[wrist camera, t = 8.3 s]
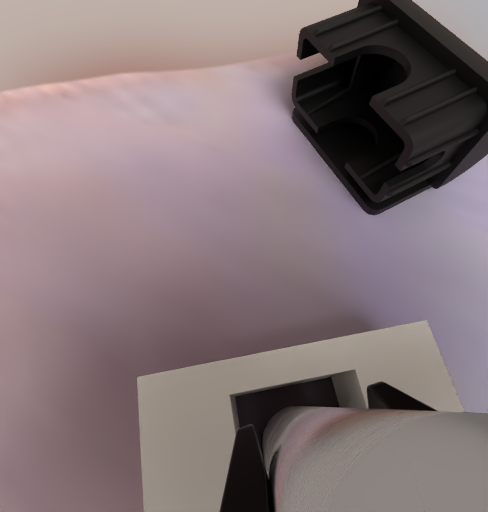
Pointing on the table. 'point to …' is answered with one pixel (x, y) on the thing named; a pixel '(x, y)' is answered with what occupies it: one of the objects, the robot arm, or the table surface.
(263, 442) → the long pin
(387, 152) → the end cap
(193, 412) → the hole plate
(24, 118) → the table surface
